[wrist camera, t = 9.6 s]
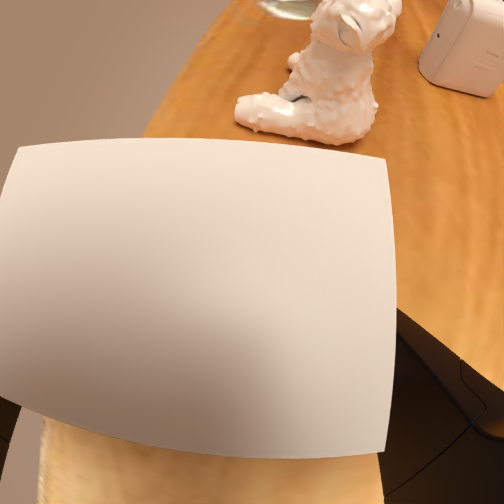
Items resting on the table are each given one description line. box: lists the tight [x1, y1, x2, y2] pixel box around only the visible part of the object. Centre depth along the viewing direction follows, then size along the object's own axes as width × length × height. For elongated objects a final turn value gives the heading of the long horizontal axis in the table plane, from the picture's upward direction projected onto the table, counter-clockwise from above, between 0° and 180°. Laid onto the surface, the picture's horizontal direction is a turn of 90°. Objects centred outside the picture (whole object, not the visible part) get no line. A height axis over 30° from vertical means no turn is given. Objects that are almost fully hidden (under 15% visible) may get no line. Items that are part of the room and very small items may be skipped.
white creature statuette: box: [234, 0, 402, 146], centre depth 16 cm, size 10×9×12 cm
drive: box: [0, 138, 396, 459], centre depth 10 cm, size 4×6×13 cm, turn 86°
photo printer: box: [418, 0, 504, 97], centre depth 18 cm, size 10×4×12 cm, turn 96°
